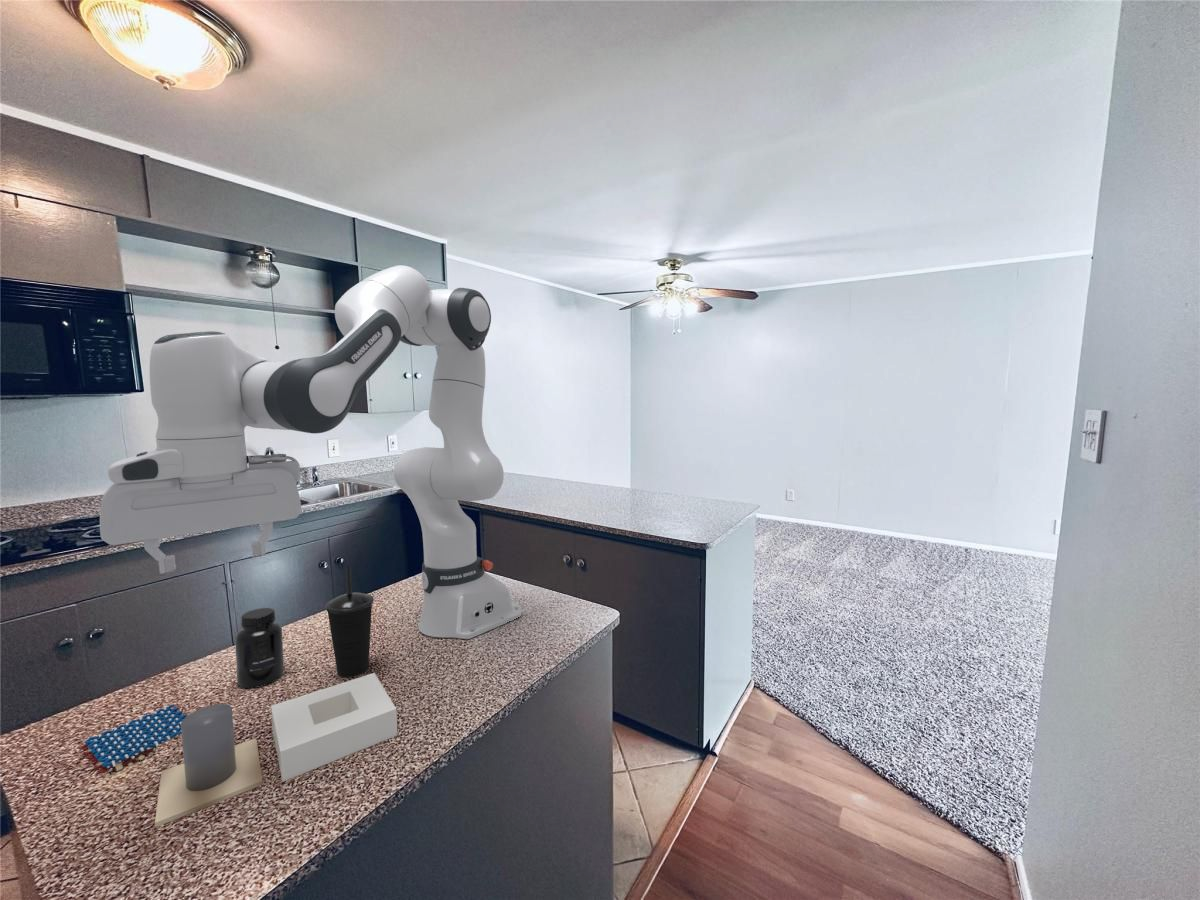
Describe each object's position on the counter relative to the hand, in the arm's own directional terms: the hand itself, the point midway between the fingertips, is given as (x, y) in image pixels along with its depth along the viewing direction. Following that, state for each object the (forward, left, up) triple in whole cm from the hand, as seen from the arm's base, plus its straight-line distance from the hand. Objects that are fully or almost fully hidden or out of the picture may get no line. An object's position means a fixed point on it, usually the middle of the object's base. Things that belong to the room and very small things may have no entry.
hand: (215, 562), depth 65 cm
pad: (+2, +5, -28) cm, 28 cm away
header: (-12, +5, -28) cm, 30 cm away
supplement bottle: (-5, -21, -28) cm, 35 cm away
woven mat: (+10, -12, -28) cm, 32 cm away
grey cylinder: (+2, +5, -26) cm, 27 cm away
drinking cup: (-18, -12, -28) cm, 35 cm away
